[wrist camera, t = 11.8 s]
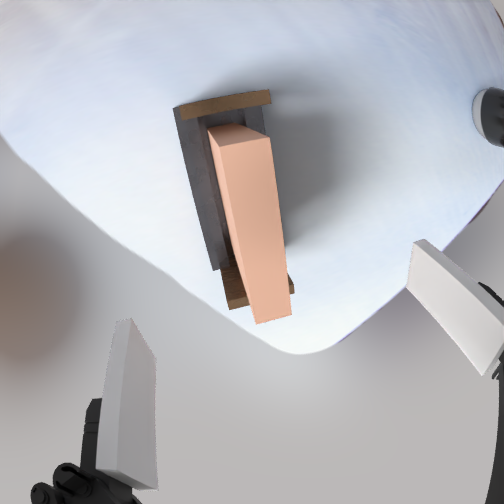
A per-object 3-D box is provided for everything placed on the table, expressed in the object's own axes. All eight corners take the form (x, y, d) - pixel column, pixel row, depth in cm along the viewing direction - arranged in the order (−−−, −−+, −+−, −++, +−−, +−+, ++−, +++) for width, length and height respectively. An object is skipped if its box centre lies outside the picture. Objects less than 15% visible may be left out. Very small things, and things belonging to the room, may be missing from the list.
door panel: (235, 122, 28) (269, 137, 16) (255, 238, 35) (291, 314, 23) (206, 128, 28) (219, 147, 16) (231, 244, 35) (256, 324, 23)
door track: (256, 91, 28) (281, 88, 20) (279, 250, 38) (303, 290, 30) (173, 108, 27) (166, 109, 19) (212, 266, 37) (220, 312, 29)
